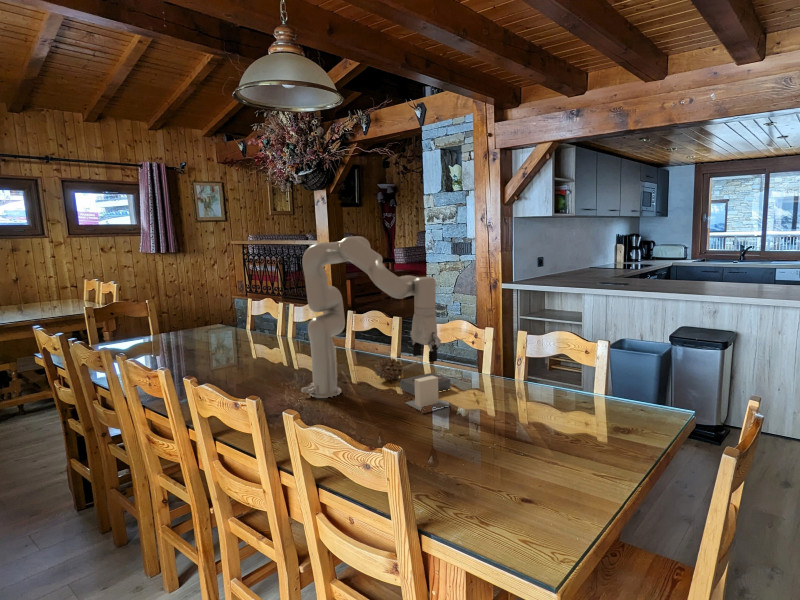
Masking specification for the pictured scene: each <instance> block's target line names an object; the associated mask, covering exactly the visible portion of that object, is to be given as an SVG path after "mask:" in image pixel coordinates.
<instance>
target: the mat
mask: <svg viewBox="0 0 800 600" xmlns="http://www.w3.org/2000/svg"><path fill="white" fill-rule="evenodd" d="M438 402H439V403H436V404H432V405H430V406H431V407H432V408H433V407H436V408H441V407H445V406H450V407H451V404H450V403H447V402H445V401H443V400H440V399H438ZM404 403H406V404H408V405H410V406H412V407H414V408H416V409H418V410H420V411H421V409H422V408H423V407H419V406H417V405H415V399H414V400H413V399H412V400H410V401H406V402H404ZM424 408H425V407H424ZM424 408H423V409H424ZM436 408H433V409H436ZM424 410H425V409H424ZM422 412H423V411H422Z"/></svg>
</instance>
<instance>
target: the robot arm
mask: <svg viewBox="0 0 800 600" xmlns="http://www.w3.org/2000/svg"><path fill="white" fill-rule="evenodd" d="M303 253H304V254H303V256H302V259H301V261H302V262H301V263H302V264H301V265H302V270H303V275H304V281H305V290H306V297H307V298H306V299H307V306H308V308H309V309H310V311H312V312H314V313H323V314H320V315H317V316H315V317H313V318H311V320H310V321H309V322H308V324H307V334H308V338H309V343H310V355H311V371H312V373H311V374H312V382H310V385H308V386H304V387H301V389H300V392H301V393H307V394H309V396H310V397H311V396H312V398H314V397H315V398H314V399H329V398H328V397H331V398H334V397H333V396H335V397H338V396H340V393H341V394H342V388H340V387H339V386H338V374H337V373H338V372H337V370H338V369H337V352H336V346H335V345H336V344H335V342H334V340H333V337H335V336H337V335H340V334H341V333H343V331H344V329H345V328H346V327H345V325H346V318H345V310H344V300H343V296H342V294H341V291H340V290H339V289H338V287H335V286H333V285H329V283H328V276H327V273H326V271H325V268H324V266H326V265H333V264H334V265H335V264H336V265H337V264H341V263H345V262H350V263H351V264H353V265H354V266H356V267H357V268H359V269H360V270H361V271H363V272H364V273H365V274H366V275H368V277H369V279H370V280H371V281H372V283H373V284H374V285H375V287H377V288H378V289H380V290H381V291H383V292H384V293H385V294H386V295H388V296H389V297H391V298H394V299H397V300H398V299H399V300H401V299H404V298H408V297H411V296H414V297H413V298H414V303H413V305H414V313H413V317H412V323H411V330H410V332H409V335H410V340H411V342H412V343H411V344H412V357H418V356H421V355H422V345H423V346H427V347H428V348H429V350H428V362H429V363H434V362H437V360H438V351H439V348H440V345H441V343H442V342H441V341H442V340H441V339H440V337H439V336H438V326H437V316H436V312H437V311H436V304H437V303H436V299H437V298H436V293H437V291H436V287H437V286H436V285H437V284H436V282H437V281H436V279H435V278H434V277H431V276H415V275H411V274H409V275H407V274H406V275H401V276H398V275H396V274H395V273H393V272H391V271H390V269H388V268H387V267H386V266H385V265H384V262H383V259H384V258H383V256H382V254H380V253H379V252H377V251H375V250H373V249H372V248H371V244H370V242H369V240H368V239H367V238H366V237H364V236H361V235H355V236H347V237H344V238H343V239H341V240H339V241H331V242H329V241H328V242H317V243H314V244H312V245H311V246H309V247H308V248H307V249H306V250H305V251H304V252H303ZM337 395H338V396H337Z"/></svg>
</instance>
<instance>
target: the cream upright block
mask: <svg viewBox="0 0 800 600" xmlns="http://www.w3.org/2000/svg"><path fill="white" fill-rule="evenodd" d="M414 381H415V397H414V400H415V405H417V406H419V407H424V406H428V405H432V404H436V403H439V402H438V400H439V393H438V377H435V376H428V377H423V378H419V379H414Z"/></svg>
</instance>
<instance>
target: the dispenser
mask: <svg viewBox="0 0 800 600" xmlns="http://www.w3.org/2000/svg"><path fill="white" fill-rule="evenodd" d="M428 376H435V377H438V392H439V391H443V390H448V389H450V390H451V378H448V377H445V376H443V375H440V374H437V373H435V372H430V373H425V374H421V375H416V376H410V377H406V378H401V379H399V382H400V384H399V385H400V390H401V389H402V390H404V391H406V392H409V393H411V394H413V395H415V381H414V379H419V378H423V377H428Z"/></svg>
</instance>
